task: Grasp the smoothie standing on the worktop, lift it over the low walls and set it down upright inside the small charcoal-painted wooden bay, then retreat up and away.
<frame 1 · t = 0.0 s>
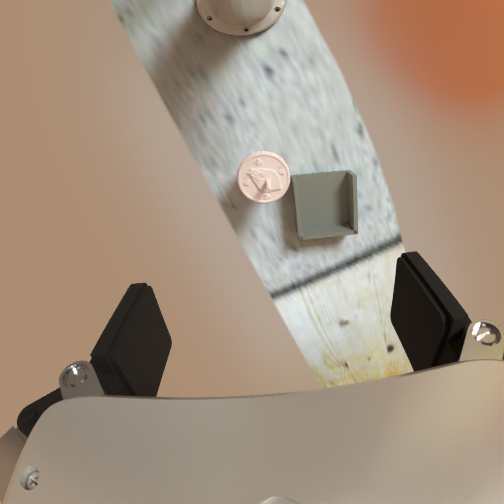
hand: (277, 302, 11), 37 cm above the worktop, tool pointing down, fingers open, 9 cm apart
smoothie: (263, 163, 45), on the worktop
bay: (323, 201, 47), on the worktop
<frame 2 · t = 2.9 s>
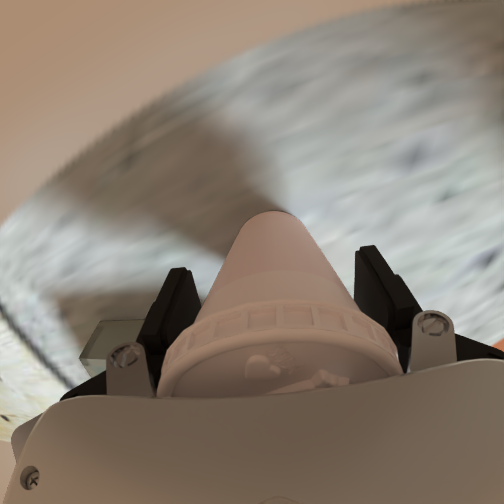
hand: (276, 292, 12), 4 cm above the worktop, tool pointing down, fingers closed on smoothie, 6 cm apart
smoothie: (273, 244, 16), on the worktop, touching gripper
bay: (183, 369, 20), on the worktop
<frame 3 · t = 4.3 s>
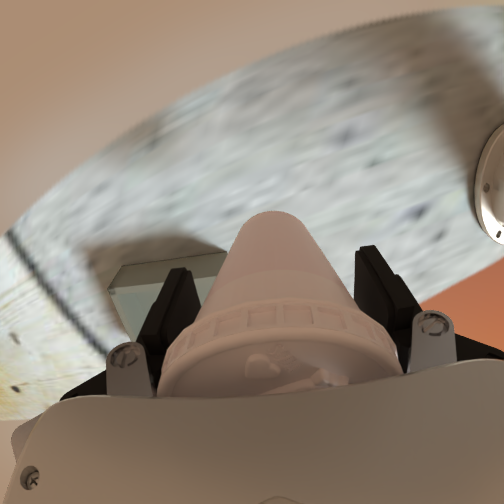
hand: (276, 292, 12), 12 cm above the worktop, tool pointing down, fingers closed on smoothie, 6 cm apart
smoothie: (273, 244, 16), point 8 cm above the worktop, touching gripper
bay: (185, 305, 27), on the worktop
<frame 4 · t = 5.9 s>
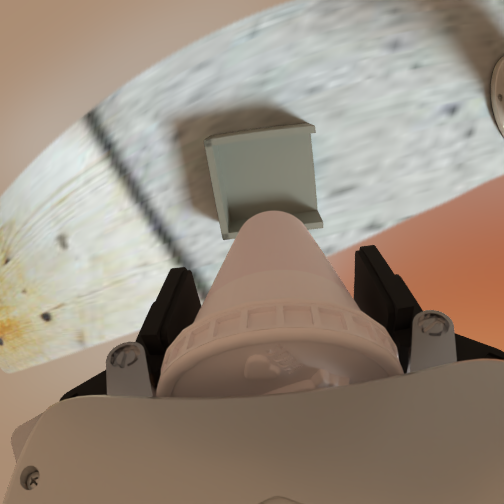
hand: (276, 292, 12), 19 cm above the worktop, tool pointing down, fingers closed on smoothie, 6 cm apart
smoothie: (273, 244, 16), point 15 cm above the worktop, touching gripper
bay: (265, 175, 29), on the worktop
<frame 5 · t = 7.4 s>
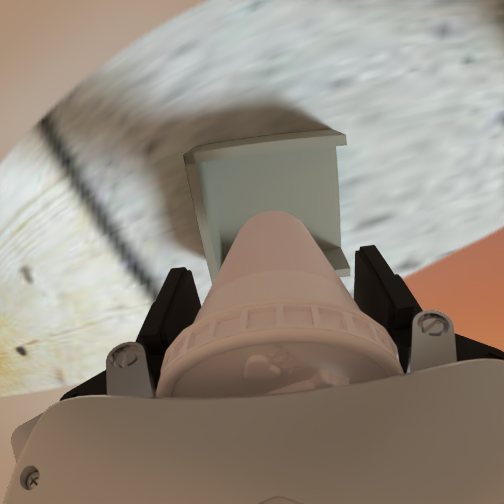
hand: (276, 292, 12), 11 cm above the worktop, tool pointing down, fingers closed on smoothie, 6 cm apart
smoothie: (273, 244, 16), point 7 cm above the worktop, touching gripper
bay: (272, 200, 22), on the worktop
when the fingers open (6 cm above the worktop, at t = 8.9 s): smoothie drops 1 cm, resting on bay.
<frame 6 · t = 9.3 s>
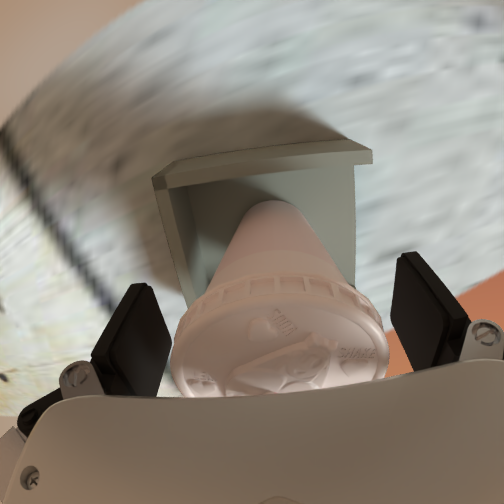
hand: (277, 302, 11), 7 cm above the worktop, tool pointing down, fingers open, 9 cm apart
smoothie: (273, 231, 17), resting on bay
bay: (271, 230, 17), on the worktop
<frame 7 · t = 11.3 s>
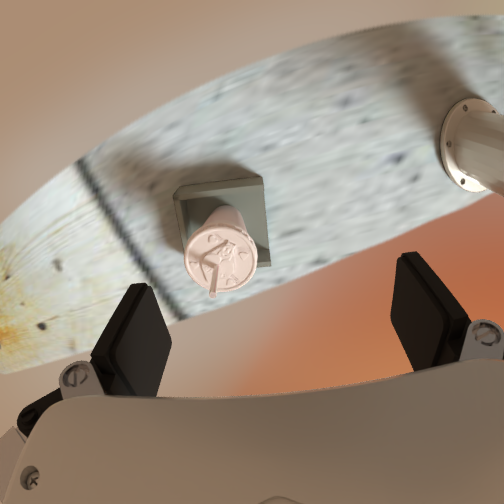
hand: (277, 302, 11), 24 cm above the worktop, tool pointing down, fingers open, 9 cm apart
smoothie: (226, 220, 35), resting on bay
bay: (225, 219, 36), on the worktop
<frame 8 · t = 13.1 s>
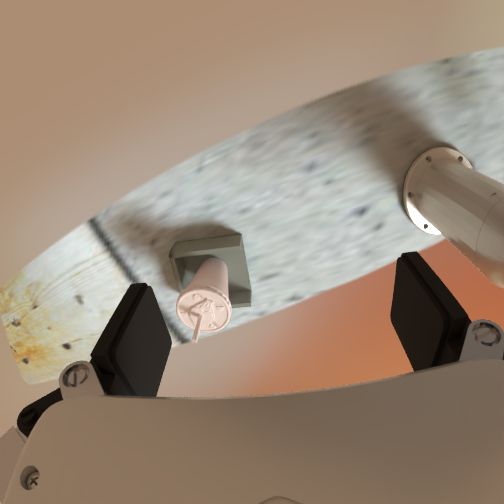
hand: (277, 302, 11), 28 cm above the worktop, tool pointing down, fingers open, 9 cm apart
smoothie: (214, 268, 43), resting on bay
bay: (214, 267, 43), on the worktop
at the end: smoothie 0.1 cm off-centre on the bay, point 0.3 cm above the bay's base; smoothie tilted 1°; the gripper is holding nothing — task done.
